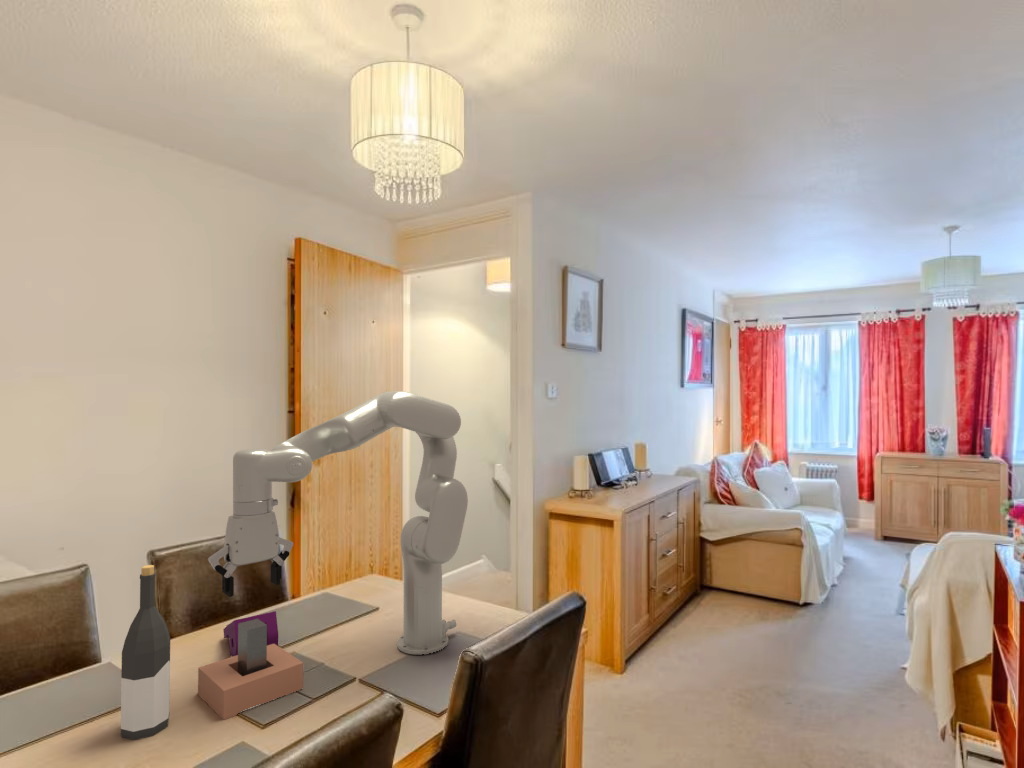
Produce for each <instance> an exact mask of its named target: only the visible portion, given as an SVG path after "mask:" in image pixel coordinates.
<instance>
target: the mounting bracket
mask: <svg viewBox="0 0 1024 768" xmlns="http://www.w3.org/2000/svg"><path fill="white" fill-rule="evenodd" d="M254 619H259V620H260V621H262V622H263V623H265V624H266V625H267V646H268V645H271V644H275V645H277V646H278V647H279V629H278V617H277V611H270V612H266V613H262V614H261V613H260V614H258V615H252V616H248V617H247V616H246V617H244V618H238V619H234V620H233V621H231V622H230V623H228V625H227V626H225V627H224V628H223V639H228V644H229V645H228V647H229V653H230V657H233V656H236V655H238V624H239V623H243V622H246V621H250V620H254Z"/></svg>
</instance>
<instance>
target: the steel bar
mask: <svg viewBox="0 0 1024 768" xmlns="http://www.w3.org/2000/svg"><path fill="white" fill-rule="evenodd" d="M266 668H267V625H266V624H265V623H263V622H262V621H260V620H259V619H254V620H250V621H246V622H243V623H239V624H238V673H239V674H240V675H241V676H245V675H248V674H251V673H254V672H257V671H260V670H263V669H266Z"/></svg>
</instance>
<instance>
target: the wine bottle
mask: <svg viewBox="0 0 1024 768" xmlns="http://www.w3.org/2000/svg"><path fill="white" fill-rule="evenodd" d="M140 569H141V574H139V580H140V581H139V582H140V584H139V609H138V612H137V613H136V615H135V617H134V618H133V620H132V622H131V623H130V626H129V629H128V631H127V634H126V636H125V638H124V639H125V640H124V643H123V646H122V650H121V680H120V681H121V684H120V687H121V689H120V737H121V738H124V739H127V740H132V741H135V740H140V739H144V738H148V737H153V736H155V735H157V734H158V733H159V732H162V731H163V730H164V729H165V730H166V728H168V726H169V719H170V710H171V709H170V704H171V703H170V702H171V701H170V700H171V699H170V697H171V696H170V695H171V693H170V692H171V691H170V690H171V689H170V687H171V636H170V631H169V628H168V626H167V623H166V621H165V618H164V617H163V615H162V614H161V612H159V610H158V608H157V607H156V605H155V601H156V599H155V598H156V596H155V595H156V594H155V593H156V591H155V590H156V572H155V565H154V564H153V565H152V564H147V565H143V566H142V567H141V568H140Z"/></svg>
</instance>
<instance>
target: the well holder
mask: <svg viewBox="0 0 1024 768" xmlns="http://www.w3.org/2000/svg"><path fill="white" fill-rule="evenodd" d="M197 669H198V670H197V673H198V674H197V695H198V696H199V697H200V698H201V699H202V700H203V701H204V702H205V703H206V704H207V705H208V706H209V707H210V708H211V709H212V710H213V711H214V712H215V713H216V714H217V715H218V716H219V717H220V718H221V719H222V720H223V721H224V720H228V719H230V718H232V717H234V716H237V714H238V713H239V712H241V711H243V710H245V709H248V708H250V707H253V706H256V705H259V704H263V703H266V702H268V703H270V702H269V701H271V700H273V699H276V698H278V697H281V698H283V697H282V696H284V695H286V696H288V694H289V695H291V694H290V693H292V694H294V693H296V691H297V692H298V690H299V691H301V690H300V689H302V688H303V689H304V662H303V661H301V660H300V659H298V658H297V657H295V656H294V655H292V654H290V653H289V652H287V651H286V650H285V649H284V648H281V647H280V646H279V645H278V646H277V645H275V644H271V645H268V646H267V668H266V669H263V670H260V671H257V672H254V673H251V674H248V675H245V676H241V675H240V674H239V673H238V655H236V656H233V657H231V656H230V657H227V658H224V659H222V660H218V661H215V662H211V663H208V664H206V665H205V664H204V665H203V666H201V665H200V666H199V667H197ZM303 689H302V690H303ZM293 692H294V693H293ZM284 697H285V696H284ZM276 700H277V699H276ZM271 702H272V701H271ZM266 704H267V703H266ZM263 705H264V704H263ZM238 715H239V714H238Z"/></svg>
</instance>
